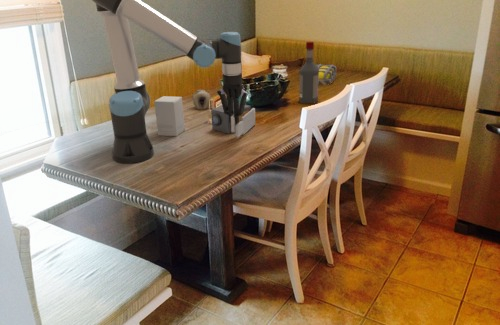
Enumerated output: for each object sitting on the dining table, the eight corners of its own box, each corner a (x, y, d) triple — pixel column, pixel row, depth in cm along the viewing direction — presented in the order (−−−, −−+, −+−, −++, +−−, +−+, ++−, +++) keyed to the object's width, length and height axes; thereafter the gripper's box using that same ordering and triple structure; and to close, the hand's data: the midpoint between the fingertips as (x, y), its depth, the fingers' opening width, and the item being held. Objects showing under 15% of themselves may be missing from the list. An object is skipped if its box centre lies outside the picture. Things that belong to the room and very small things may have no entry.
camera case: (226, 134, 187) (225, 112, 184) (210, 129, 194) (208, 107, 190) (251, 125, 198) (250, 104, 194) (234, 121, 204) (234, 100, 200)
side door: (238, 140, 179) (238, 122, 177) (235, 140, 180) (234, 122, 177) (255, 124, 198) (255, 108, 195) (252, 124, 198) (252, 107, 195)
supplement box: (185, 129, 195) (182, 96, 189) (177, 136, 187) (173, 101, 181) (166, 128, 197) (163, 95, 191) (157, 135, 189) (153, 100, 183)
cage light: (338, 63, 284) (330, 73, 258) (337, 76, 287) (329, 86, 261) (315, 62, 288) (305, 72, 262) (315, 75, 291) (305, 85, 265)
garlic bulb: (194, 112, 228) (187, 93, 225) (208, 106, 232) (201, 88, 230) (202, 110, 220) (195, 91, 217) (216, 104, 224) (209, 85, 222)
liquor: (318, 99, 235) (320, 40, 223) (316, 104, 227) (318, 43, 215) (301, 98, 237) (302, 40, 225) (298, 103, 229) (299, 43, 217)
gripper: (251, 72, 174) (252, 130, 183) (221, 70, 179) (224, 126, 188) (243, 76, 167) (245, 136, 177) (212, 74, 172) (216, 132, 182)
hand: (234, 131), depth 182 cm, fingers closed
